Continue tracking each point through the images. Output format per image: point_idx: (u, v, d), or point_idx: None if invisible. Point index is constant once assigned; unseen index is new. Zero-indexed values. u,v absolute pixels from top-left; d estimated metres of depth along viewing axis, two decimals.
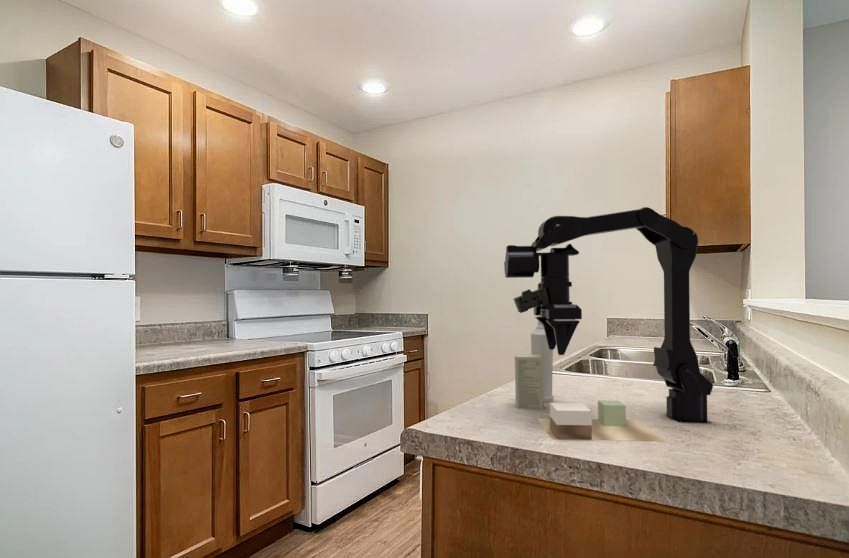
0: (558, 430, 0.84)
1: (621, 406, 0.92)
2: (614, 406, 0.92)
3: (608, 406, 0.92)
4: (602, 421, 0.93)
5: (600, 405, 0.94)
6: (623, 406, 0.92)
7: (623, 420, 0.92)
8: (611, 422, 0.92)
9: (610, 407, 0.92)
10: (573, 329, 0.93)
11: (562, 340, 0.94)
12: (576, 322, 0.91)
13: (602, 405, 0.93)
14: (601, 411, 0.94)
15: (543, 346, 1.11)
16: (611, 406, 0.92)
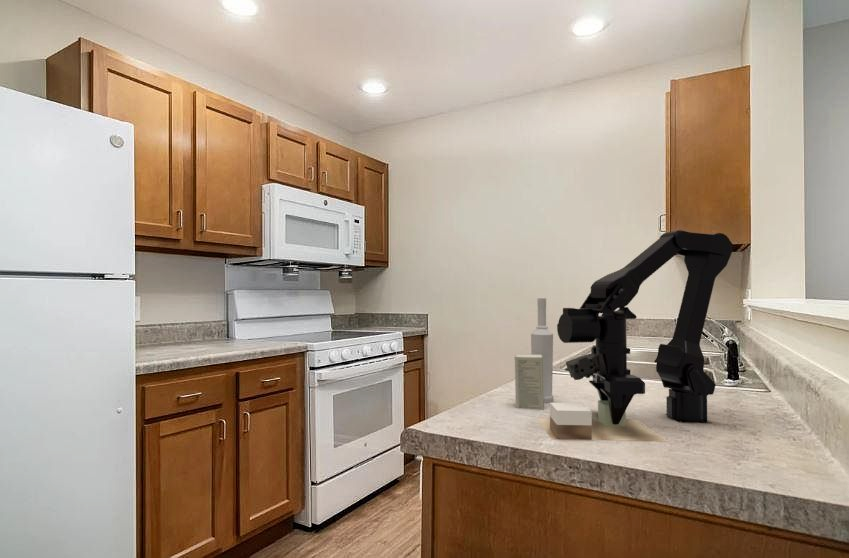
0: (558, 430, 0.84)
1: None
2: None
3: (608, 406, 0.92)
4: (602, 421, 0.93)
5: (600, 405, 0.94)
6: None
7: (623, 420, 0.92)
8: (611, 422, 0.92)
9: None
10: (629, 399, 0.90)
11: (617, 410, 0.91)
12: (633, 393, 0.89)
13: (602, 405, 0.93)
14: (601, 411, 0.94)
15: (543, 346, 1.11)
16: None
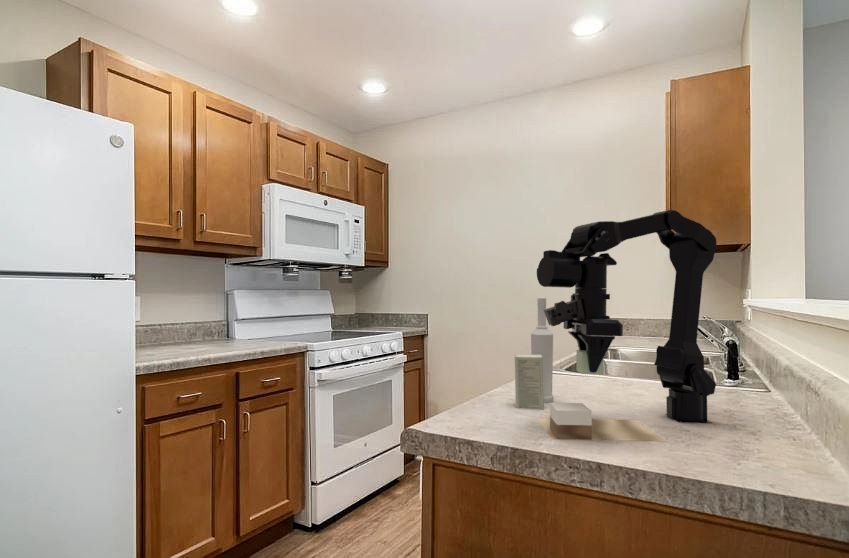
0: (558, 430, 0.84)
1: None
2: None
3: (586, 353, 0.89)
4: (579, 369, 0.90)
5: (578, 353, 0.91)
6: None
7: (601, 368, 0.89)
8: (588, 370, 0.89)
9: None
10: (607, 345, 0.87)
11: (595, 356, 0.88)
12: (611, 338, 0.85)
13: (580, 353, 0.90)
14: (579, 359, 0.91)
15: (543, 346, 1.11)
16: None
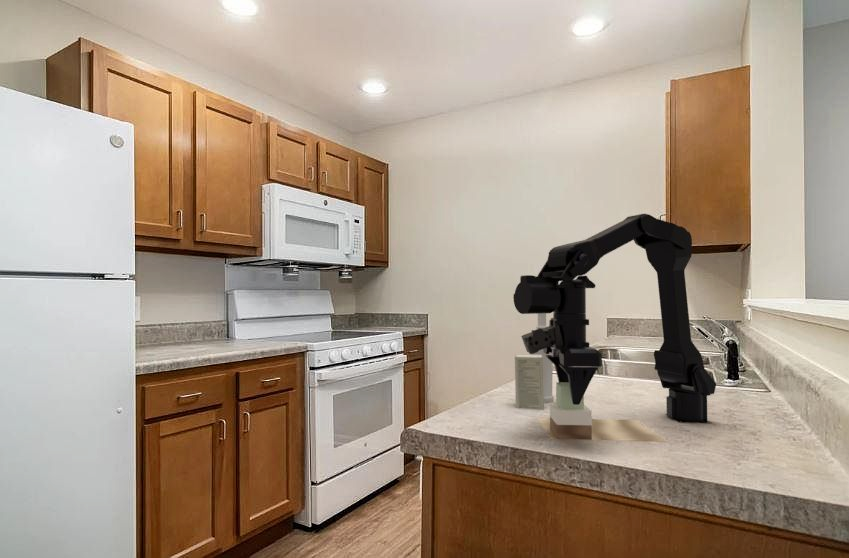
0: (558, 430, 0.84)
1: None
2: None
3: (565, 387, 0.85)
4: (559, 404, 0.86)
5: (558, 386, 0.87)
6: None
7: (581, 403, 0.85)
8: (568, 405, 0.85)
9: (567, 389, 0.85)
10: (590, 376, 0.81)
11: (577, 388, 0.82)
12: (594, 369, 0.79)
13: (559, 387, 0.86)
14: (558, 393, 0.87)
15: None
16: (568, 387, 0.85)
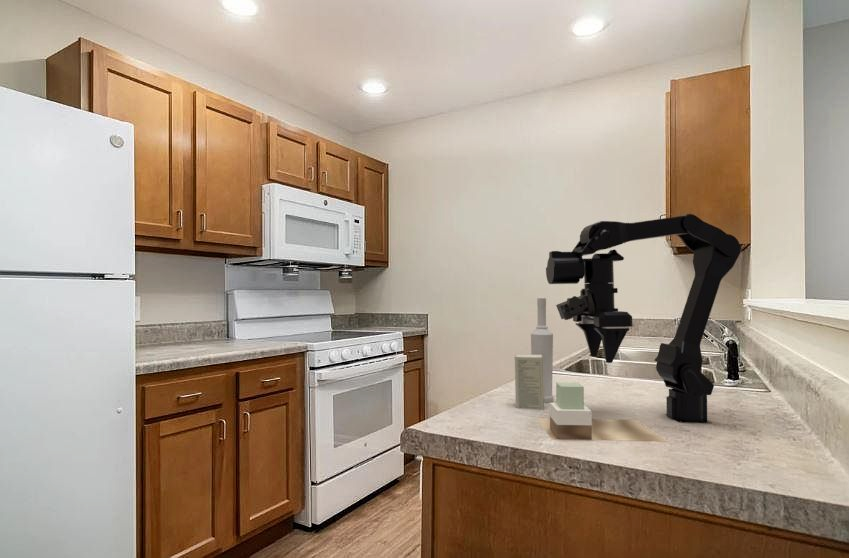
0: (558, 430, 0.84)
1: (579, 387, 0.85)
2: (571, 387, 0.85)
3: (565, 387, 0.85)
4: (559, 404, 0.86)
5: (558, 386, 0.87)
6: (581, 387, 0.85)
7: (581, 403, 0.85)
8: (568, 405, 0.85)
9: (567, 389, 0.85)
10: (622, 336, 0.92)
11: (610, 348, 0.92)
12: (626, 329, 0.90)
13: (559, 387, 0.86)
14: (558, 393, 0.87)
15: (543, 346, 1.11)
16: (568, 387, 0.85)
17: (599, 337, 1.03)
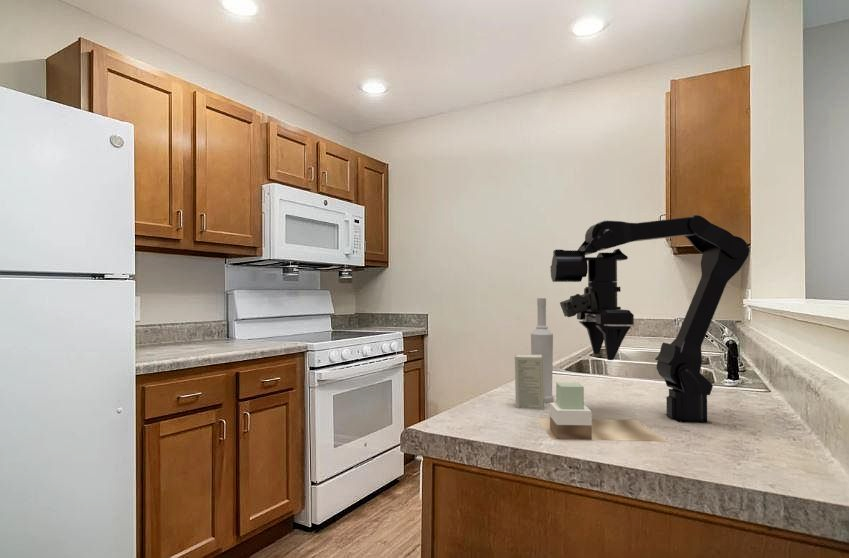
0: (558, 430, 0.84)
1: (579, 387, 0.85)
2: (571, 387, 0.85)
3: (565, 387, 0.85)
4: (559, 404, 0.86)
5: (558, 386, 0.87)
6: (581, 387, 0.85)
7: (581, 403, 0.85)
8: (568, 405, 0.85)
9: (567, 389, 0.85)
10: (623, 334, 0.93)
11: (612, 345, 0.94)
12: (627, 327, 0.91)
13: (559, 387, 0.86)
14: (558, 393, 0.87)
15: (543, 346, 1.11)
16: (568, 387, 0.85)
17: (602, 335, 1.04)
